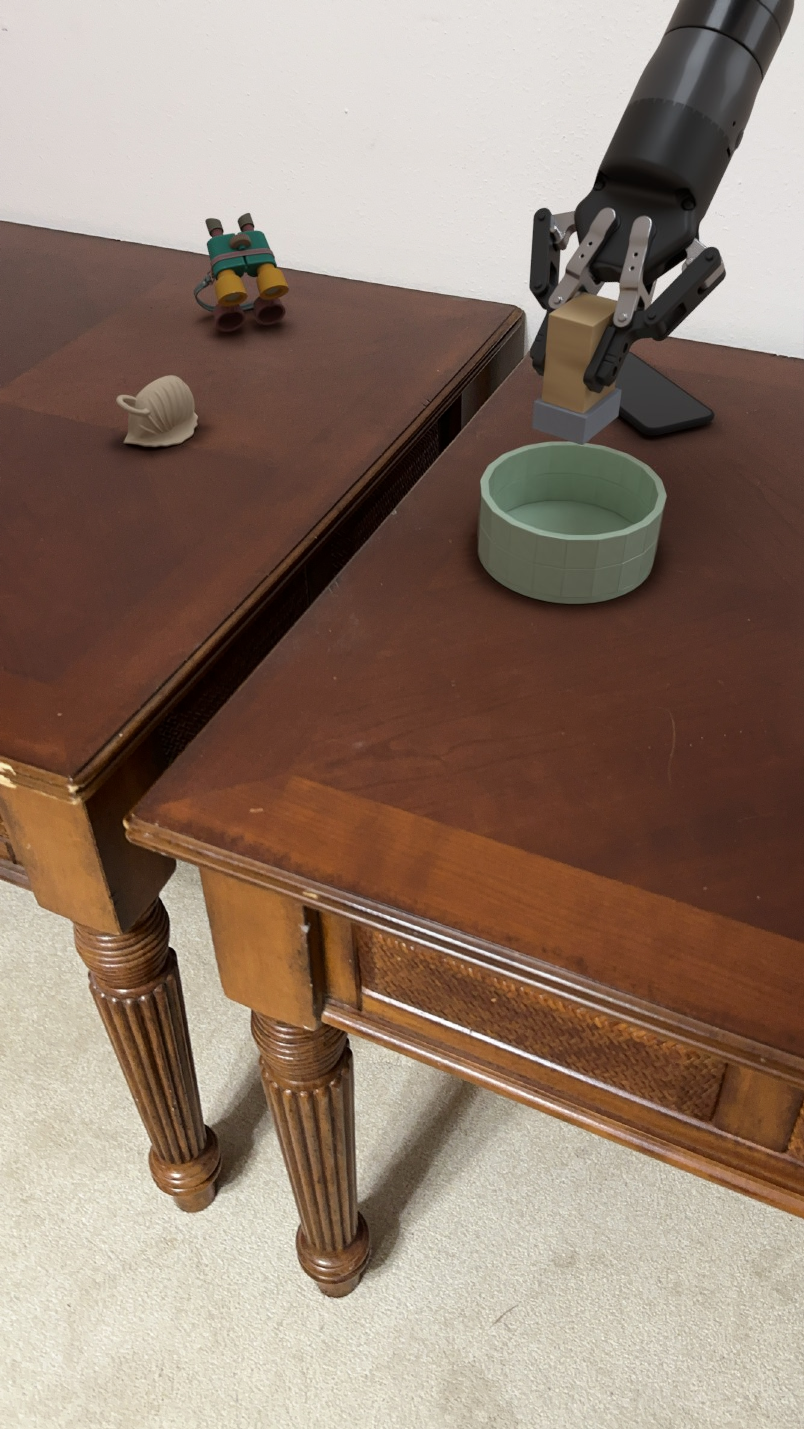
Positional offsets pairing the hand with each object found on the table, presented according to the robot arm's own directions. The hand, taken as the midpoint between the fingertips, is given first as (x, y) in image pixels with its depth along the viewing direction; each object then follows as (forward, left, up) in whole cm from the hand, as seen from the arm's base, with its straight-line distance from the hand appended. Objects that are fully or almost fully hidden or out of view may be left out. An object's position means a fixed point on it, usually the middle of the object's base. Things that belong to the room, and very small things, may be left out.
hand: (566, 378), depth 72 cm
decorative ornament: (+36, -8, -15) cm, 40 cm away
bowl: (-1, -2, -15) cm, 15 cm away
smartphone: (-2, -28, -15) cm, 32 cm away
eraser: (-1, -2, -4) cm, 5 cm away
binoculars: (+38, -31, -15) cm, 51 cm away
